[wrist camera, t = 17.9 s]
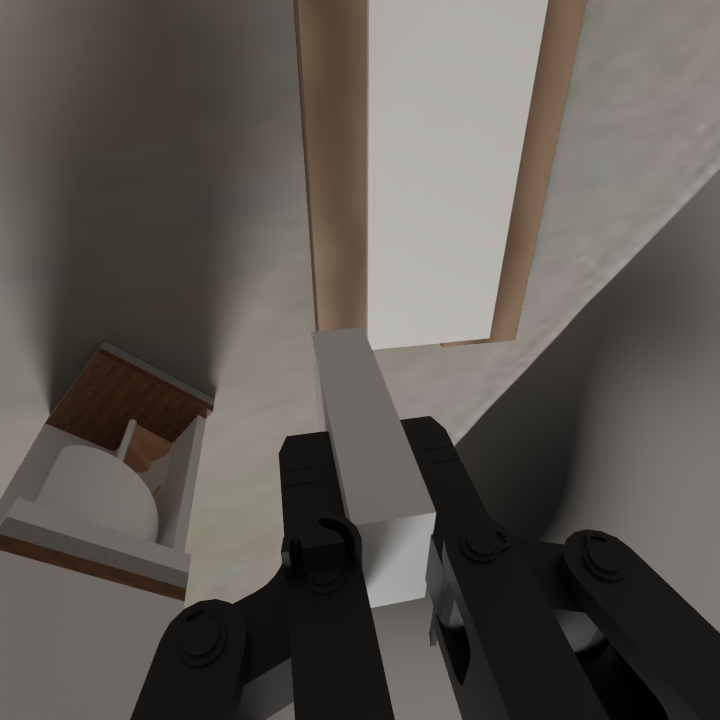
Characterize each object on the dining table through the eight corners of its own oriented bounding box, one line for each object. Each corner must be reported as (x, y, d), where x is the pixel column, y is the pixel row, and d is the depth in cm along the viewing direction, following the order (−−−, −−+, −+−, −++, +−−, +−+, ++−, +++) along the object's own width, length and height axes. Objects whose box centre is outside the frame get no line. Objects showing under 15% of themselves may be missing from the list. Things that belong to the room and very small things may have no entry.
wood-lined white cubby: (214, 398, 48) (134, 934, 19) (158, 461, 51) (19, 995, 22) (103, 340, 42) (-242, 969, 14) (49, 415, 46) (-319, 1043, 17)
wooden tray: (315, 329, 45) (320, 358, 41) (289, -57, 29) (293, -73, 25) (493, 314, 47) (515, 340, 43) (557, -51, 32) (600, -65, 28)
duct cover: (365, 345, 41) (367, 350, 40) (366, -47, 26) (369, -50, 26) (485, 333, 42) (489, 338, 42) (549, -44, 28) (556, -46, 27)
